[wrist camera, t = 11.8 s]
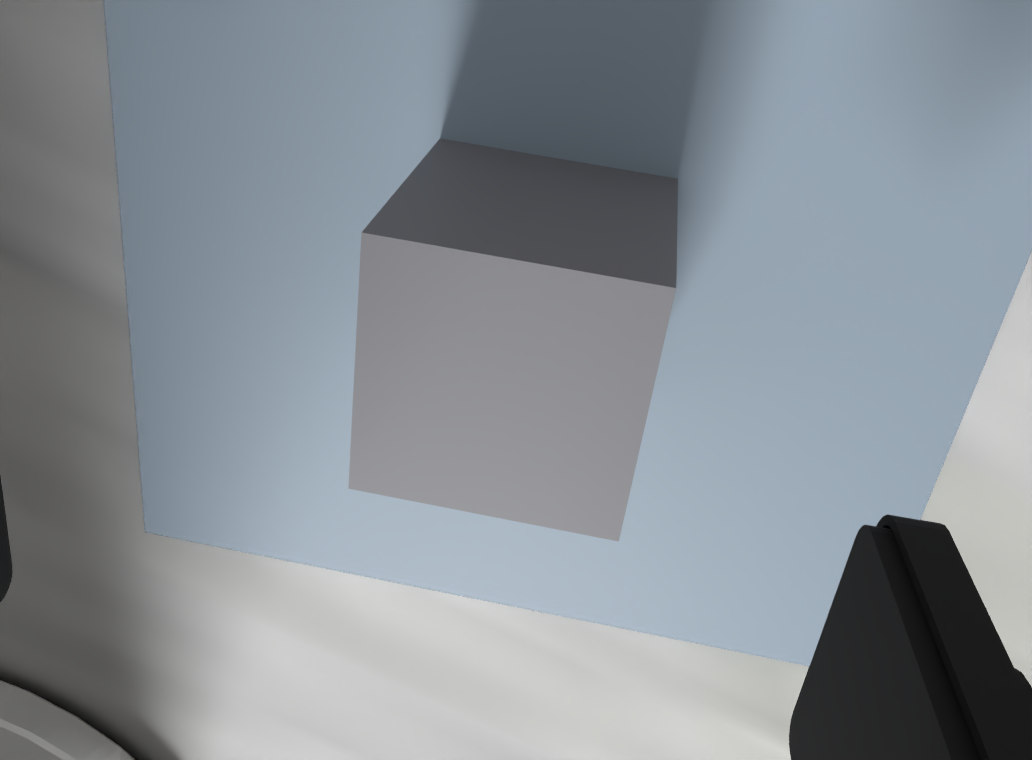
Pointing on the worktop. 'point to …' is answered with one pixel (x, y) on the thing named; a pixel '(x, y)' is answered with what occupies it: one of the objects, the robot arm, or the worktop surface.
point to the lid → (566, 287)
